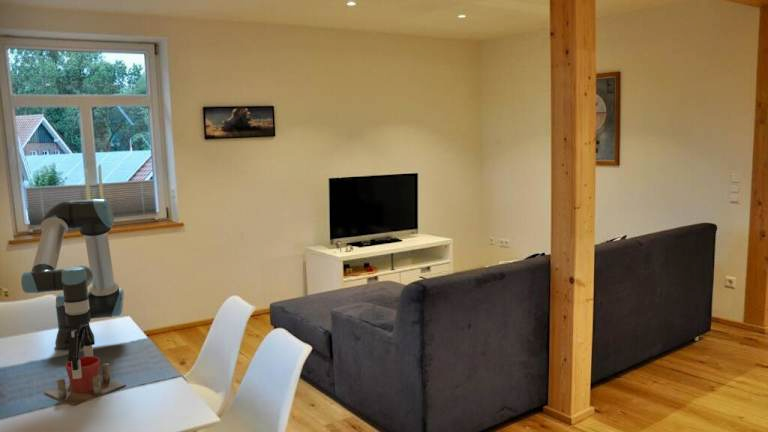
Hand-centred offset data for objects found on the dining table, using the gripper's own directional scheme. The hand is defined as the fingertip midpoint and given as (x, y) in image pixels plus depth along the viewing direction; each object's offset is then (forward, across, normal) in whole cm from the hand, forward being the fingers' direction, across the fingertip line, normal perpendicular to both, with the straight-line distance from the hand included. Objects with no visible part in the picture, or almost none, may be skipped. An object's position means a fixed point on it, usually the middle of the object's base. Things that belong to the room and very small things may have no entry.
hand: (83, 370), depth 216 cm
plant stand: (+7, 0, 0) cm, 7 cm away
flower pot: (+7, 0, 0) cm, 7 cm away
